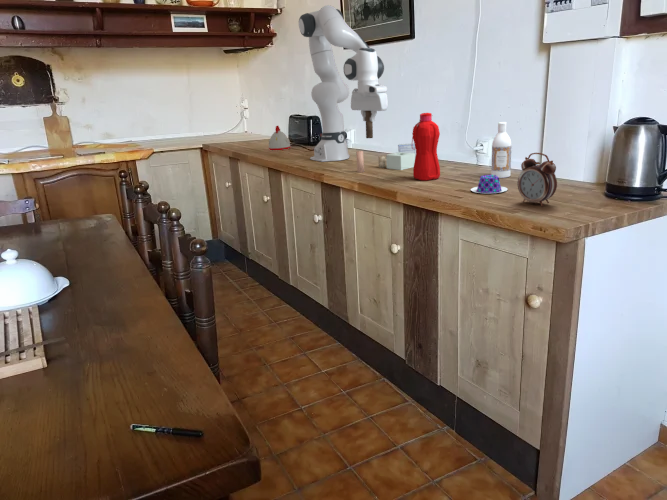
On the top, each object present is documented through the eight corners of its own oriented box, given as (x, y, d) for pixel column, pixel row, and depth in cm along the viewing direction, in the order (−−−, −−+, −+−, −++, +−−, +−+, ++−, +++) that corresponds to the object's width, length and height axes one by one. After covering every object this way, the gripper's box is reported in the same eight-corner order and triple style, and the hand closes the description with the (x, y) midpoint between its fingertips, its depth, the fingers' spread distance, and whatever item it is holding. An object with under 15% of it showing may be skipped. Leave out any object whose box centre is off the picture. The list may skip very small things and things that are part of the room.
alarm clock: (515, 202, 156) (517, 152, 151) (525, 199, 158) (527, 150, 153) (547, 208, 147) (550, 155, 142) (557, 205, 149) (561, 153, 145)
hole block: (386, 168, 232) (386, 154, 230) (400, 165, 237) (400, 152, 235) (401, 169, 225) (400, 156, 223) (415, 166, 230) (414, 153, 228)
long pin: (364, 138, 228) (363, 105, 223) (369, 137, 230) (368, 104, 225) (369, 138, 226) (368, 105, 221) (374, 137, 227) (373, 104, 223)
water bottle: (406, 179, 204) (404, 114, 196) (430, 175, 207) (429, 111, 200) (419, 182, 195) (417, 114, 188) (443, 178, 199) (443, 112, 192)
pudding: (490, 197, 166) (490, 181, 164) (462, 192, 176) (463, 176, 174) (515, 190, 172) (515, 175, 170) (487, 186, 182) (487, 171, 180)
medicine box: (415, 161, 244) (415, 143, 241) (416, 163, 240) (415, 144, 237) (398, 162, 245) (398, 144, 242) (398, 164, 240) (398, 145, 238)
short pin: (377, 167, 236) (376, 156, 234) (382, 166, 237) (381, 155, 236) (382, 168, 233) (381, 157, 232) (386, 167, 235) (386, 156, 233)
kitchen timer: (266, 151, 327) (263, 127, 322) (272, 148, 340) (269, 125, 335) (287, 150, 324) (285, 126, 320) (292, 147, 337) (290, 124, 333)
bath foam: (491, 178, 193) (492, 123, 187) (491, 174, 199) (492, 122, 193) (510, 178, 191) (512, 122, 185) (510, 174, 197) (512, 121, 191)
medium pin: (356, 172, 228) (354, 151, 225) (361, 171, 230) (360, 150, 227) (360, 172, 226) (359, 152, 223) (365, 171, 227) (364, 151, 225)
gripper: (346, 88, 227) (348, 121, 231) (379, 88, 211) (379, 122, 216) (357, 88, 230) (358, 119, 235) (389, 87, 215) (390, 121, 219)
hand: (369, 121), depth 225 cm, fingers closed on long pin, 3 cm apart
